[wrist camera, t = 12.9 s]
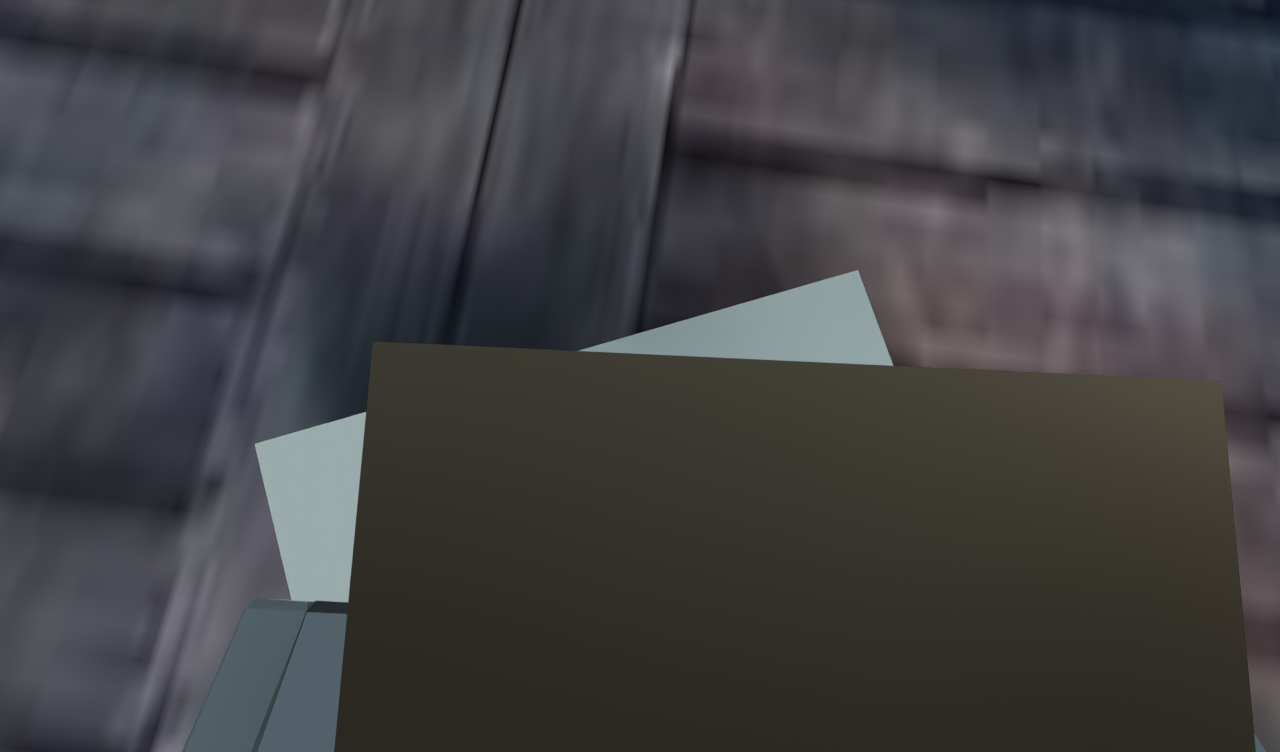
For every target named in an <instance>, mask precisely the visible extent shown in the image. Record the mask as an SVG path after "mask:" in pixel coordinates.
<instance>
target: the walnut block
mask: <svg viewBox="0 0 1280 752" xmlns="http://www.w3.org/2000/svg"><path fill="white" fill-rule="evenodd" d="M334 752H1256V748H1255V738H1254V727H1253V716H1252V705H1251V695H1250V684H1249V673H1248V662H1247V652H1246V641H1245V630H1244V619H1243V609H1242V598H1241V587H1240V576H1239V566H1238V555H1237V544H1236V534H1235V523H1234V512H1233V501H1232V491H1231V480H1230V469H1229V458H1228V448H1227V437H1226V426H1225V415H1224V405H1223V394H1222V383H1221V381H1207V380H1186V379H1165V378H1143V377H1122V376H1101V375H1080V374H1058V373H1037V372H1016V371H994V370H973V369H952V368H931V367H909V366H888V365H867V364H845V363H824V362H803V361H782V360H760V359H739V358H718V357H696V356H675V355H654V354H633V353H611V352H590V351H569V350H547V349H526V348H505V347H484V346H462V345H441V344H420V343H399V342H377V341H373V344H372V355H371V366H370V376H369V387H368V397H367V408H366V419H365V429H364V440H363V450H362V461H361V472H360V482H359V493H358V503H357V514H356V525H355V535H354V546H353V556H352V567H351V578H350V588H349V599H348V609H347V620H346V631H345V641H344V652H343V662H342V673H341V684H340V694H339V705H338V715H337V726H336V737H335V747H334Z"/></svg>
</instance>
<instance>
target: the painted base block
mask: <svg viewBox="0 0 1280 752" xmlns="http://www.w3.org/2000/svg"><path fill="white" fill-rule="evenodd" d="M579 351H590V352H611V353H633V354H654V355H675V356H696V357H718V358H739V359H760V360H782V361H803V362H824V363H845V364H867V365H888V366H893V364H892V361H891V358H890V356H889V353H888V350H887V347H886V345H885V342H884V339H883V337H882V334H881V331H880V329H879V326H878V323H877V320H876V318H875V315H874V312H873V310H872V307H871V304H870V302H869V299H868V296H867V293H866V291H865V288H864V285H863V283H862V280H861V277H860V275H859V272H858V270H856V271H853V272H849V273H846V274H842V275H839V276H835V277H832V278H829V279H825V280H822V281H818V282H815V283H811V284H808V285H804V286H801V287H797V288H794V289H790V290H787V291H783V292H780V293H777V294H773V295H770V296H766V297H763V298H759V299H756V300H752V301H749V302H745V303H742V304H738V305H735V306H731V307H728V308H724V309H721V310H718V311H714V312H711V313H707V314H704V315H700V316H697V317H693V318H690V319H686V320H683V321H679V322H676V323H672V324H669V325H666V326H662V327H659V328H655V329H652V330H648V331H645V332H641V333H638V334H634V335H631V336H627V337H624V338H620V339H617V340H614V341H610V342H607V343H603V344H600V345H596V346H593V347H589V348H586V349H582V350H579ZM365 419H366V412H364V413H360V414H357V415H353V416H350V417H346V418H343V419H340V420H336V421H333V422H329V423H326V424H322V425H319V426H315V427H312V428H308V429H305V430H301V431H298V432H294V433H291V434H288V435H284V436H281V437H277V438H274V439H270V440H267V441H263V442H260V443H256V444H255V448H256V452H257V456H258V460H259V465H260V469H261V473H262V477H263V481H264V486H265V490H266V494H267V498H268V503H269V507H270V511H271V515H272V519H273V524H274V528H275V532H276V536H277V541H278V545H279V549H280V553H281V557H282V562H283V566H284V570H285V574H286V578H287V583H288V587H289V591H290V595H291V600H297V601H314V602H315V601H332V602H348V599H349V588H350V578H351V567H352V556H353V546H354V535H355V525H356V514H357V503H358V493H359V482H360V472H361V461H362V450H363V440H364V429H365Z"/></svg>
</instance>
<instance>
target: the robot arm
mask: <svg viewBox="0 0 1280 752" xmlns="http://www.w3.org/2000/svg"><path fill="white" fill-rule="evenodd" d="M347 609H348V602H332V601H315V602H314V601H297V600H280V599H263V598H256V599H255V600H254V601H253V602H252V603H251V604H250V605H249V606H248V607H247V609H246V610H245V611H244V612H243V613H242V616H241V618H240V620H239V622H238V625H237V627H236V629H235V632H234V634H233V636H232V638H231V641H230V643H229V645H228V648H227V650H226V652H225V655H224V657H223V659H222V661H221V664H220V666H219V668H218V671H217V673H216V675H215V678H214V680H213V682H212V684H211V687H210V689H209V691H208V694H207V696H206V698H205V700H204V703H203V705H202V707H201V710H200V712H199V714H198V717H197V719H196V721H195V723H194V726H193V728H192V730H191V733H190V735H189V737H188V740H187V742H186V744H185V746H184V749H183V751H182V752H334V747H335V737H336V726H337V715H338V705H339V694H340V684H341V673H342V662H343V652H344V641H345V631H346V620H347ZM1254 738H1255V748H1256V752H1266V750H1265V749H1264V747H1263V746H1262V744H1261V742H1260V741H1259V739H1258V738H1257V736H1256V735H1255V733H1254Z"/></svg>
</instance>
